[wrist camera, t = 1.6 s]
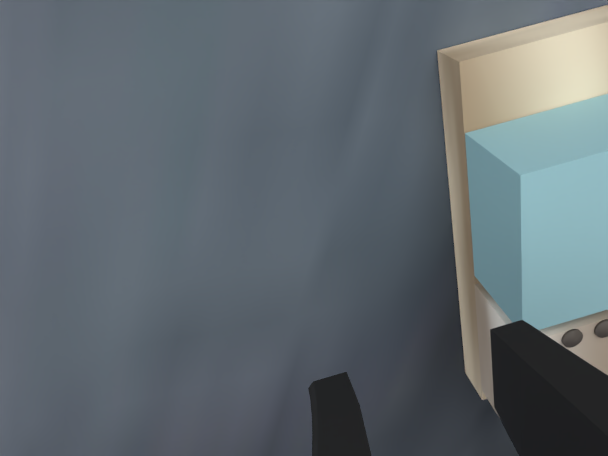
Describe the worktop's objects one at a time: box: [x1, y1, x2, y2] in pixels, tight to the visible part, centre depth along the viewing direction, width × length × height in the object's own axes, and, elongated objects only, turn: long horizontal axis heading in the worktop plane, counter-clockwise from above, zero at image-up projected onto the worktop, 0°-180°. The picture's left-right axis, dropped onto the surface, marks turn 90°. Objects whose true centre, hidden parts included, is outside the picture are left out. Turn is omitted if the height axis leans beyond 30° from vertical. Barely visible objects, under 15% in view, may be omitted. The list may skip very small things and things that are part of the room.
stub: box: [465, 94, 608, 330], centre depth 16 cm, size 5×5×3 cm
